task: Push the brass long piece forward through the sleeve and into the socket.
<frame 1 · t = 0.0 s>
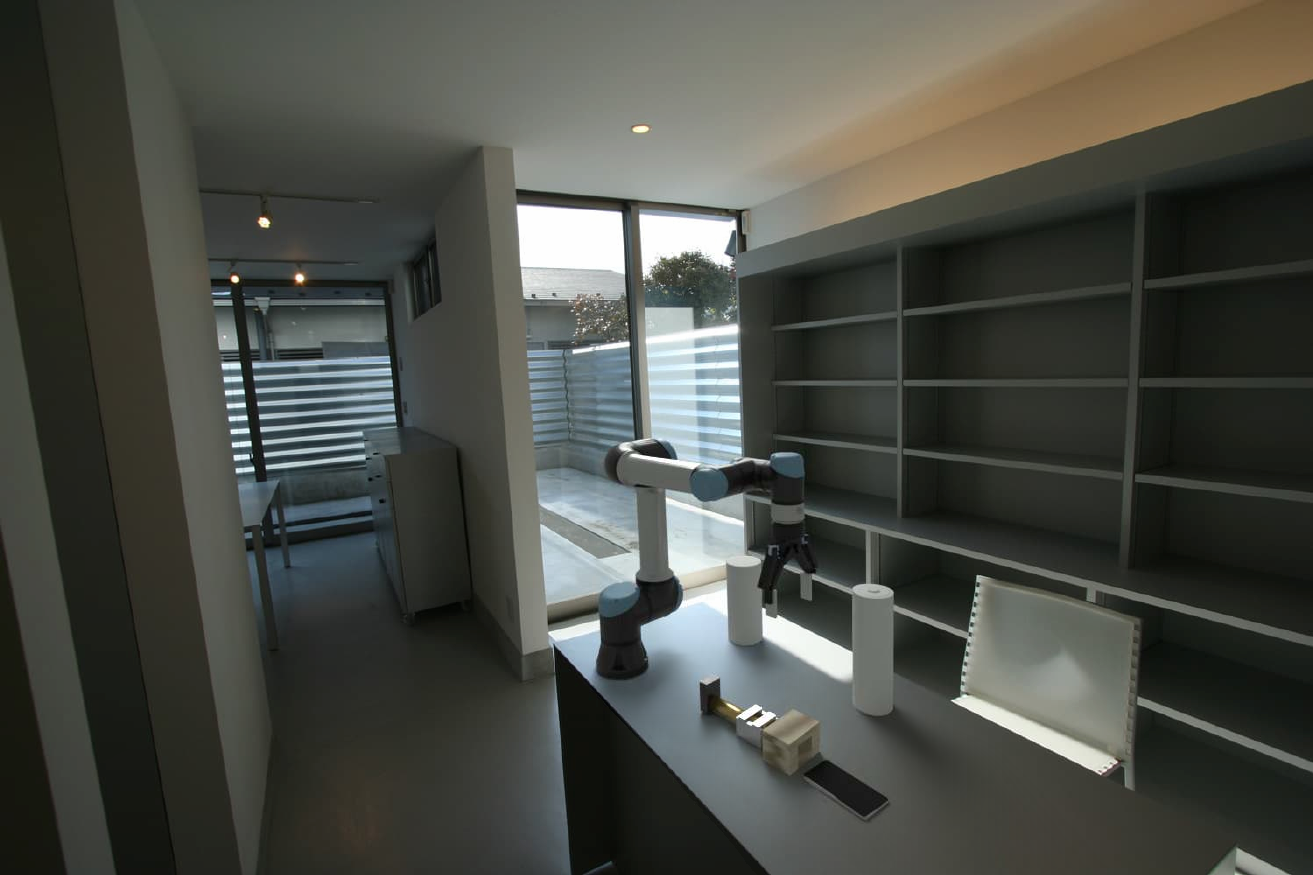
hand: (789, 607, 140), 28 cm above the table, fingers open, 13 cm apart
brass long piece: (734, 706, 142), point 4 cm above the table, slide at 0.0 cm
sleeve: (757, 736, 137), on the table
socket: (791, 755, 130), on the table
cylinder container: (872, 705, 148), on the table
tall pillar cylinder: (745, 638, 186), on the table
smartphone: (844, 792, 119), on the table
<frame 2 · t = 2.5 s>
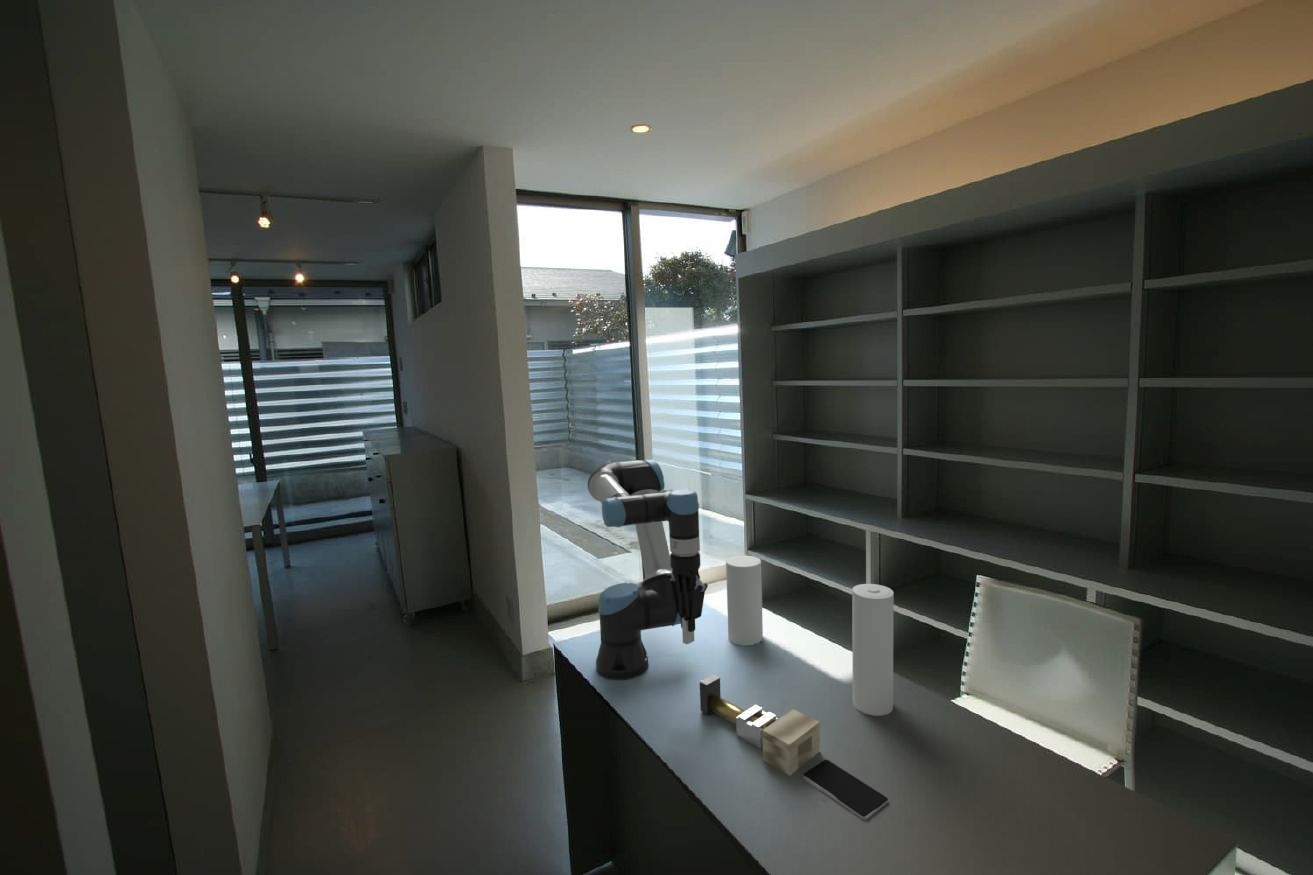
hand: (688, 641, 151), 16 cm above the table, fingers closed
nothing on the table moved.
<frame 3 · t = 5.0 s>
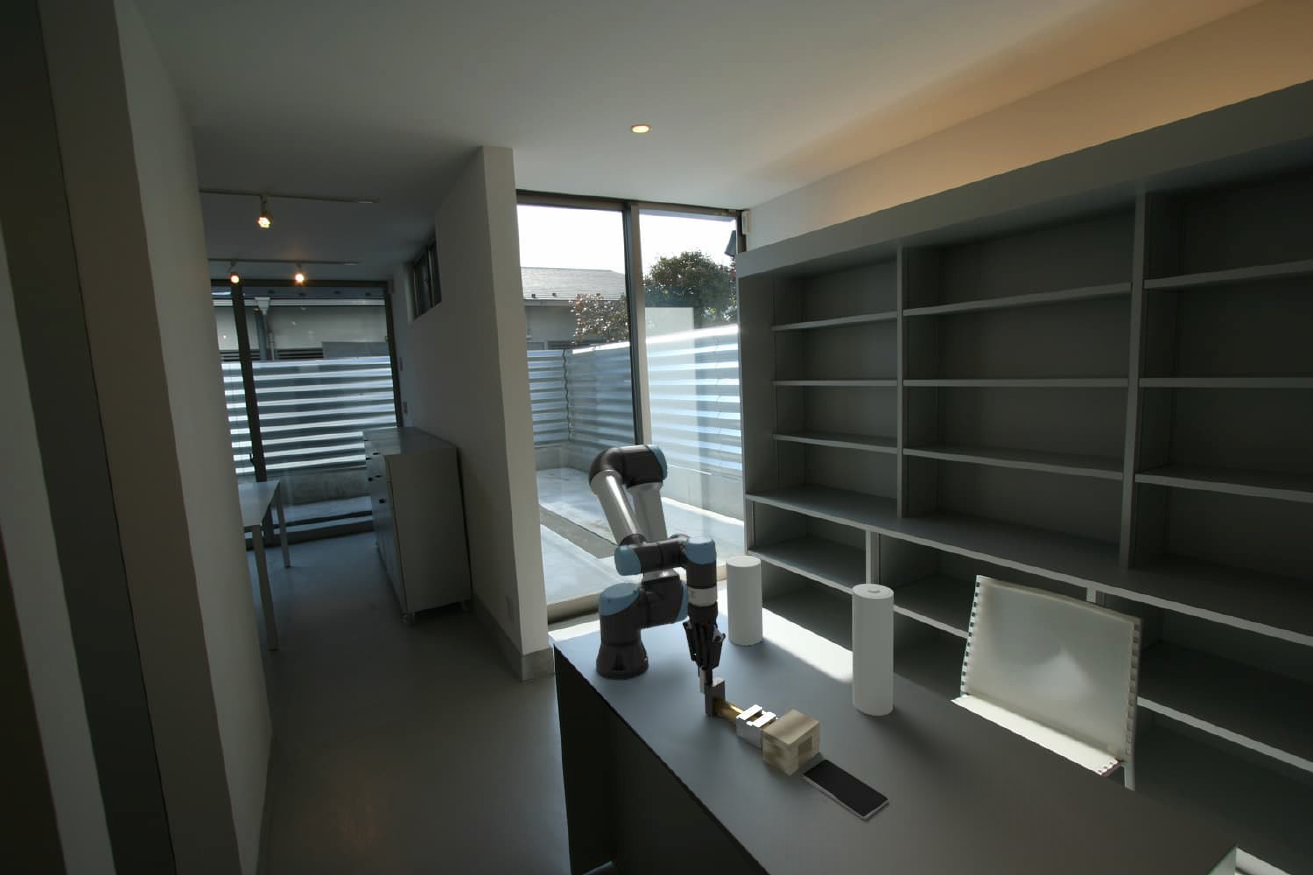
hand: (705, 691, 149), 5 cm above the table, fingers closed
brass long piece: (739, 709, 141), point 4 cm above the table, slide at 1.6 cm, touching gripper
everything else where it was.
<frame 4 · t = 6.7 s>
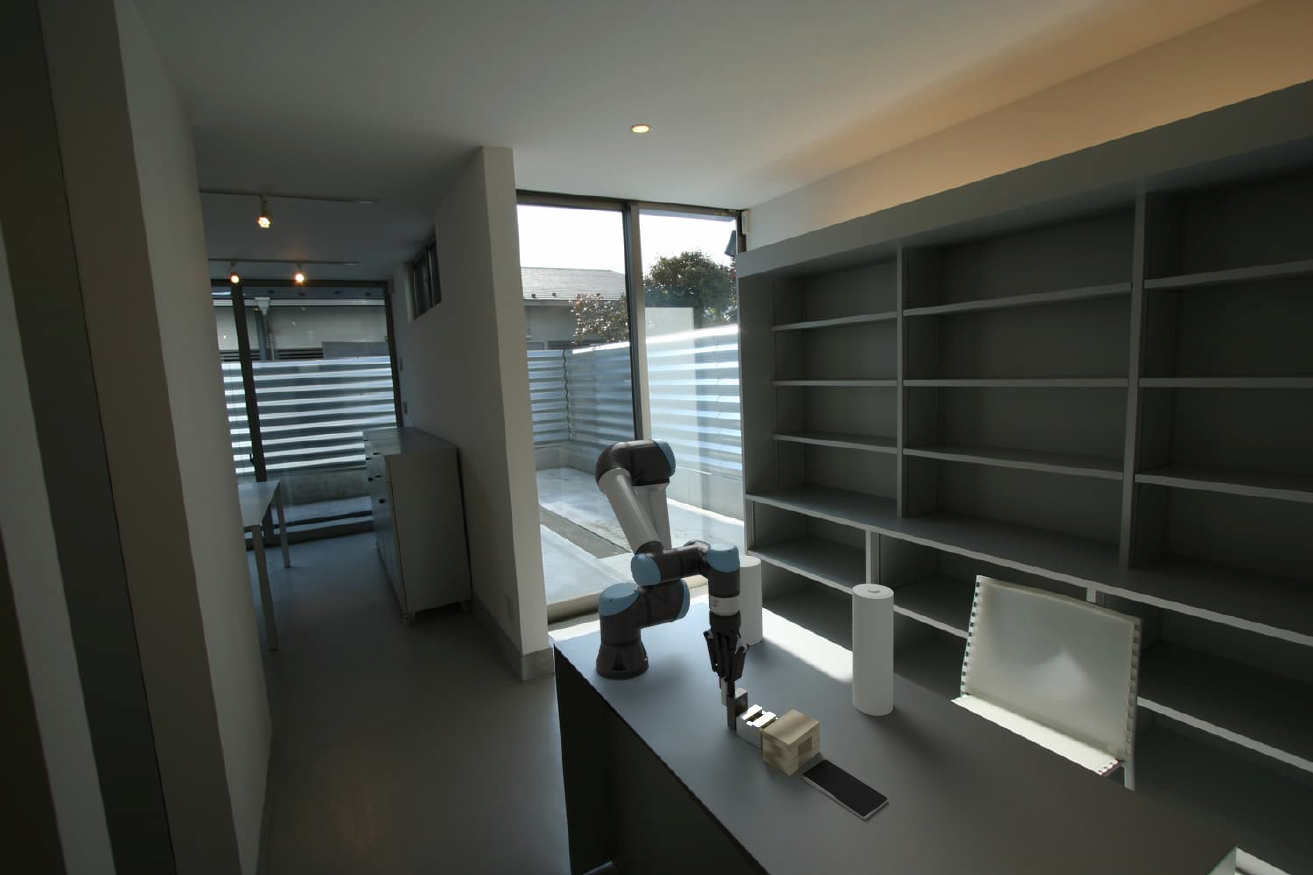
hand: (727, 702, 143), 5 cm above the table, fingers closed
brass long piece: (763, 722, 135), point 4 cm above the table, slide at 8.9 cm, touching gripper
everything else where it was.
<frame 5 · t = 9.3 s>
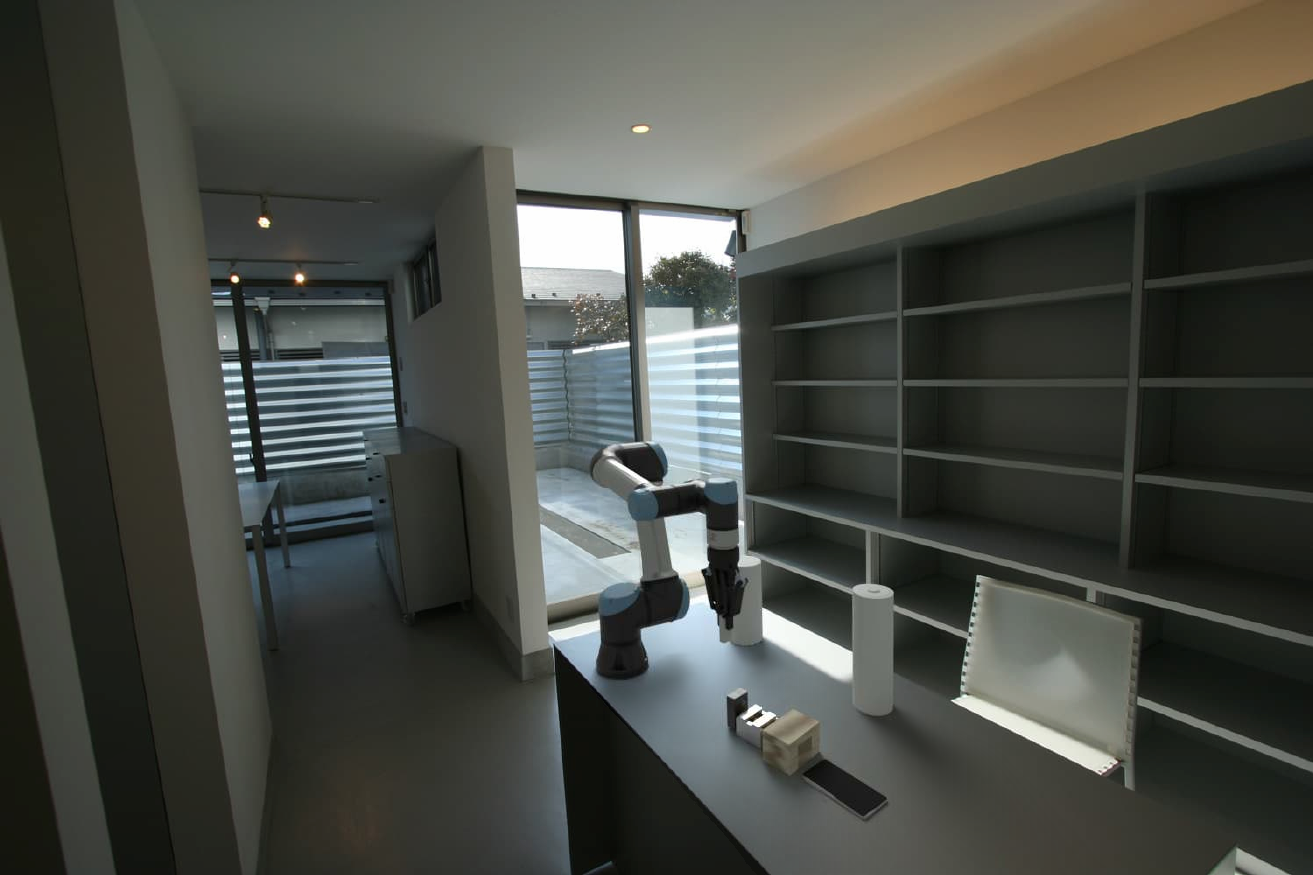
hand: (725, 640, 141), 20 cm above the table, fingers closed
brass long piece: (763, 722, 135), point 4 cm above the table, slide at 8.9 cm
everything else where it was.
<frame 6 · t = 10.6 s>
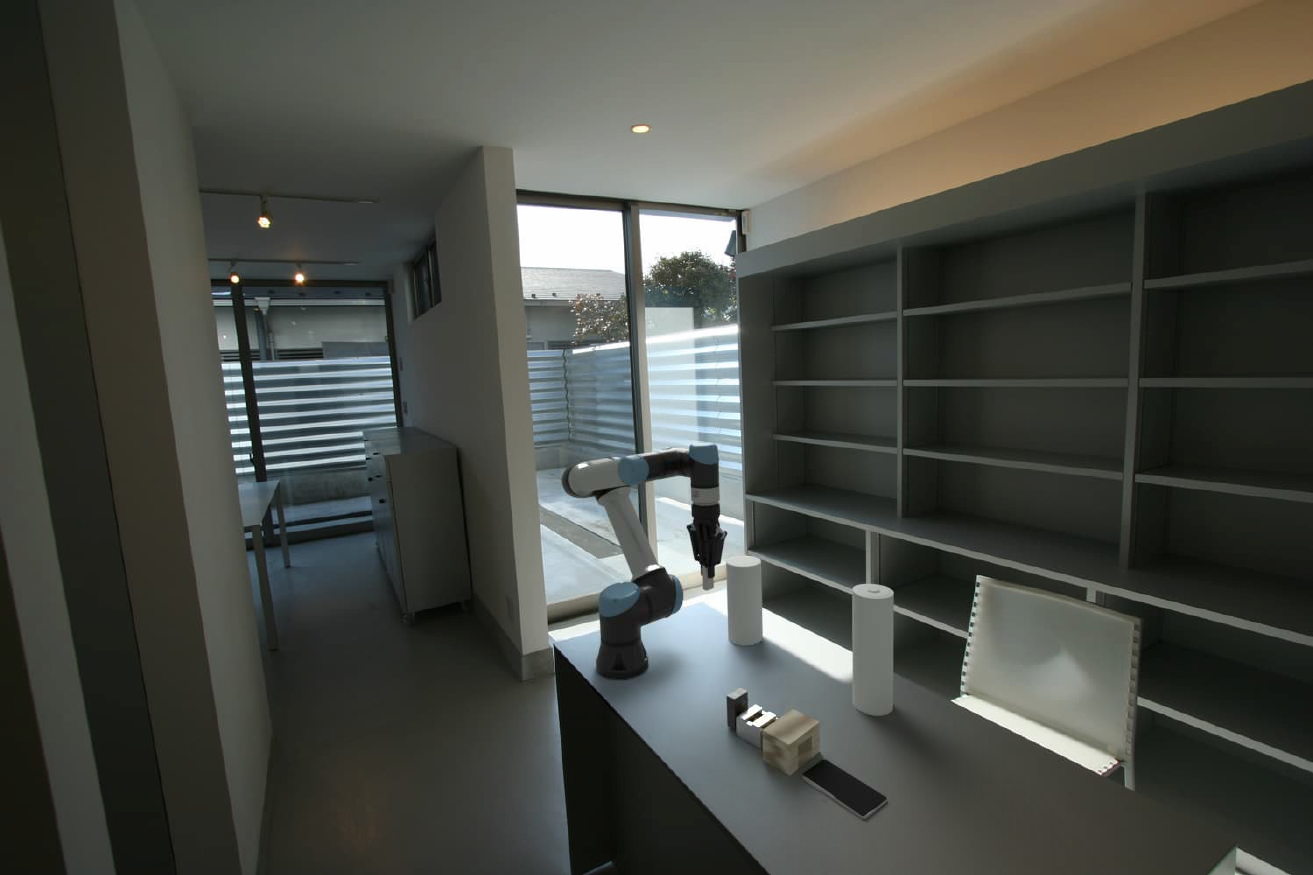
hand: (708, 588, 158), 26 cm above the table, fingers closed
nothing on the table moved.
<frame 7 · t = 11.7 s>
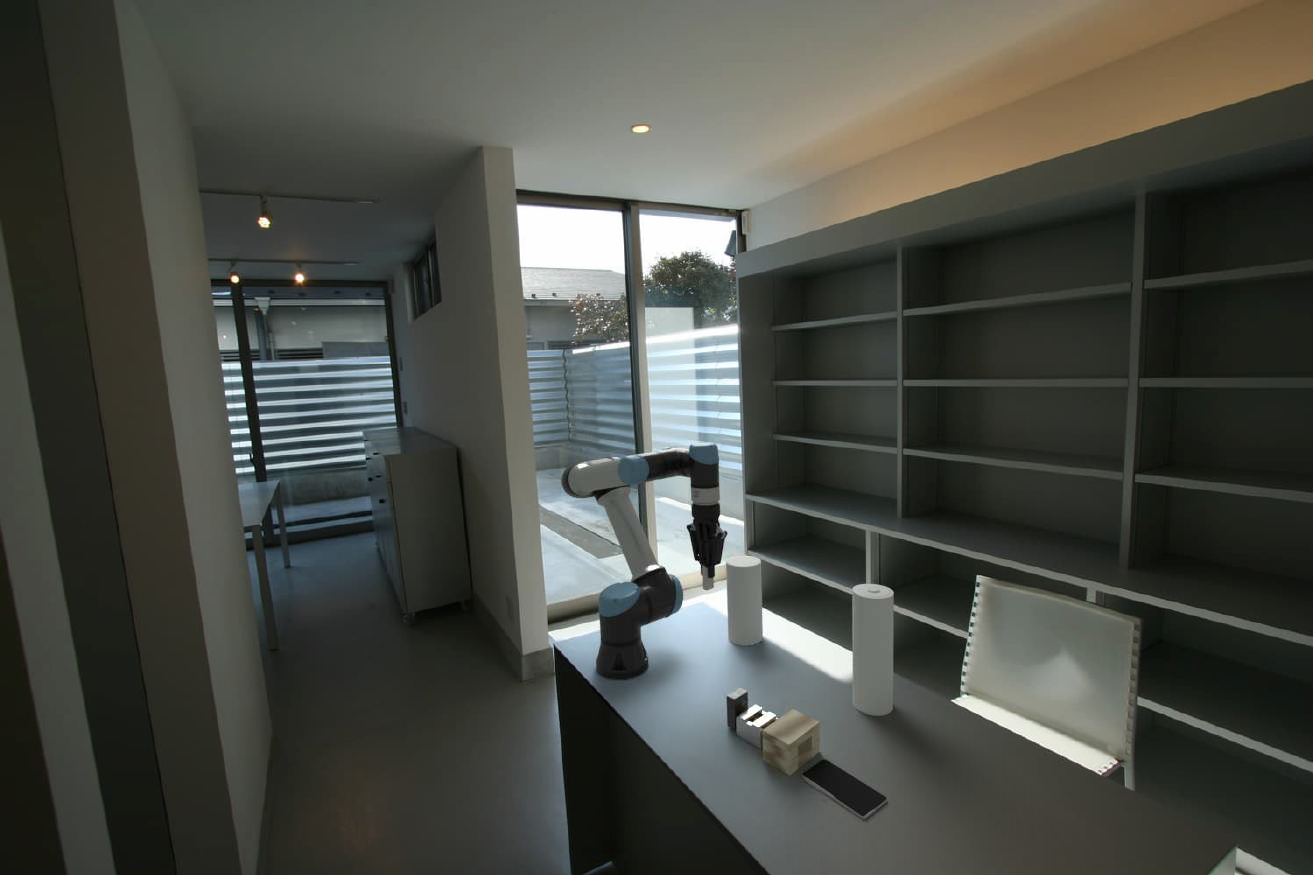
hand: (708, 588, 158), 26 cm above the table, fingers closed
nothing on the table moved.
at the end: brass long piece slide at 8.9 cm; the gripper is holding nothing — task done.
